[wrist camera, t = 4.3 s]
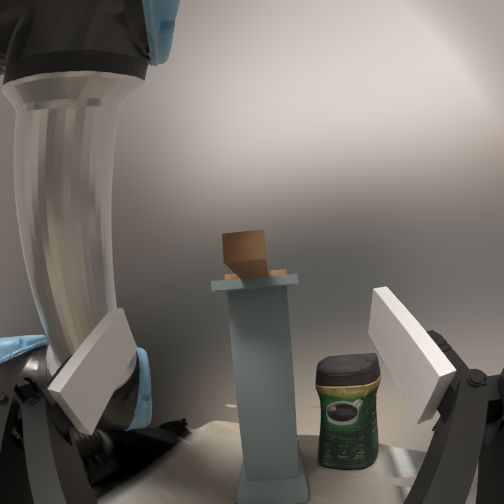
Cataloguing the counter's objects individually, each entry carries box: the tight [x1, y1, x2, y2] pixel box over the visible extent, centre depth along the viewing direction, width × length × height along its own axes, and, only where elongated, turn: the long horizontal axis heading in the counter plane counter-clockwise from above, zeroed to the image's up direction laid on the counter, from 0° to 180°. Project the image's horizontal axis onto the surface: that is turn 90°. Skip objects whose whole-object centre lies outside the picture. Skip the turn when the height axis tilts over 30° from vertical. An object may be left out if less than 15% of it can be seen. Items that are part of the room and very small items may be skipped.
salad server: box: [222, 230, 287, 280], centre depth 31 cm, size 8×26×2 cm, turn 176°
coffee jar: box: [315, 353, 381, 469], centre depth 33 cm, size 10×8×19 cm
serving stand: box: [211, 274, 309, 504], centre depth 33 cm, size 9×16×30 cm, turn 176°
